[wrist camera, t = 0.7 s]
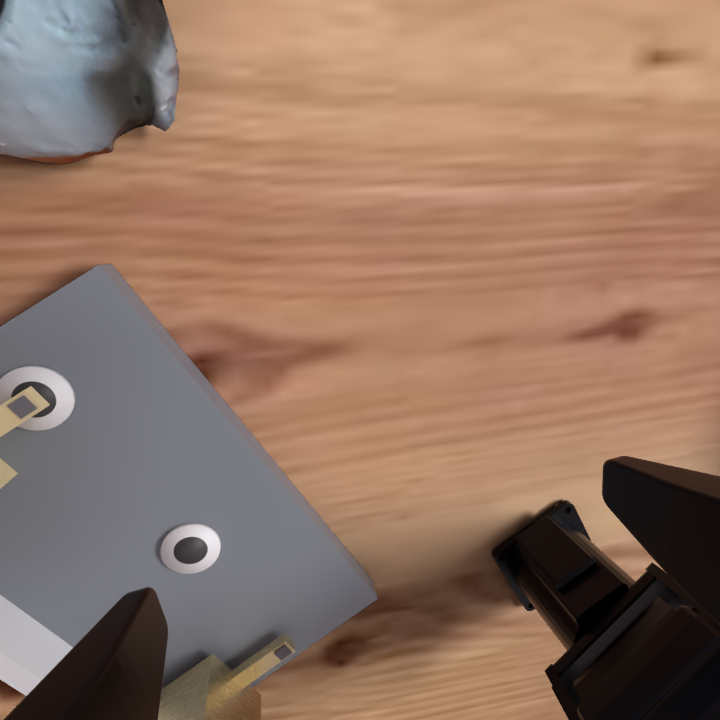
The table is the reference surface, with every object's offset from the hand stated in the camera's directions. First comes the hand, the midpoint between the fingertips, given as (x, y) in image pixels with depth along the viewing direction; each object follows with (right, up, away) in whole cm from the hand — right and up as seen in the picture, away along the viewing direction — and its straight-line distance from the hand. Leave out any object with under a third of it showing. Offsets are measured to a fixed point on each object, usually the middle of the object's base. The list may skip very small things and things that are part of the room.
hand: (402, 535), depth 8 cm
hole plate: (-12, -6, +13) cm, 19 cm away
